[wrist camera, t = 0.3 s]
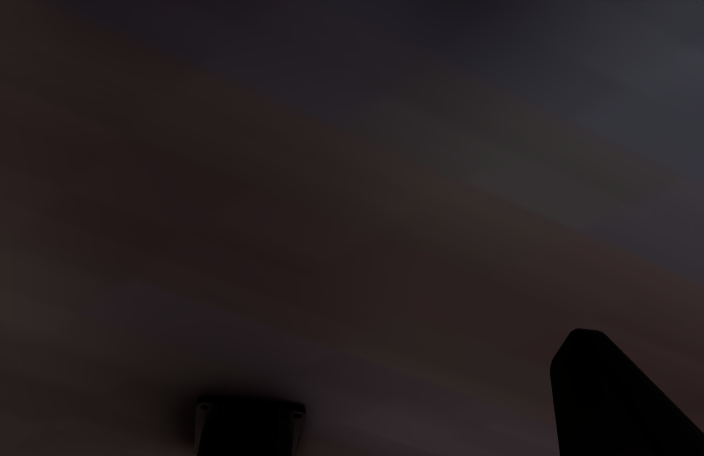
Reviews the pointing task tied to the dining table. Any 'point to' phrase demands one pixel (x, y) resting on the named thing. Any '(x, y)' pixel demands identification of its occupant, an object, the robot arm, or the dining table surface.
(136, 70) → the dining table surface
